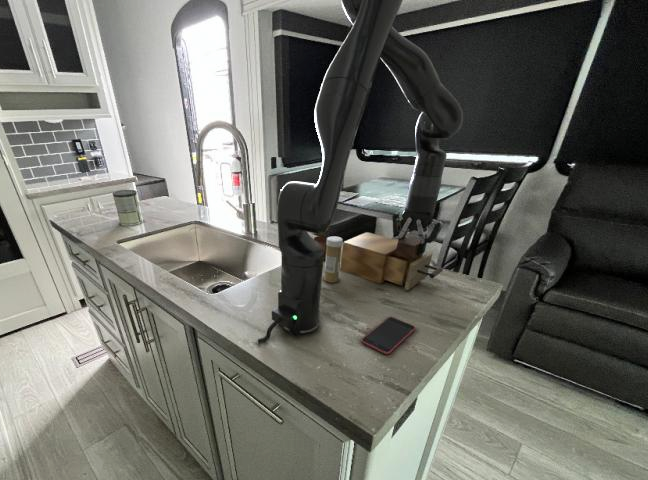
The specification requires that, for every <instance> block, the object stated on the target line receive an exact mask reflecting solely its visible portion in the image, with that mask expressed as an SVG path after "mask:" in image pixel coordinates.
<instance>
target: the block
mask: <svg viewBox="0 0 648 480" xmlns="http://www.w3.org/2000/svg"><path fill="white" fill-rule="evenodd" d="M405 237H406V238H404V239H402V240H400V241H398V243H397V248H396V253H395V255H398V256H401V257H405V258H408V259H413V258H415V257H416V256H418V255H417V251H418V247H419V243H420V236H415V235H411V234H410V235H408V236H405Z"/></svg>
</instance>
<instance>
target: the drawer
mask: <svg viewBox="0 0 648 480" xmlns="http://www.w3.org/2000/svg"><path fill="white" fill-rule="evenodd" d="M395 253H396V251H395V252H393V253H391V254H390V255H388V256H386V261H385V267H384V272H383V277H382V279H385V281H387V282H391V283H393V284H396V285H398V286H403V285H404V289H405V290H407V291H409V290H410V289H412V288H413V287H415V286H416V285H417V284H418V283H420V282H421V281H423V280H425V279H426V278H427V277H429V278H430V279H434V278H435V277H437V276H438V275H439V274H440V273H442V272H443V271H444V268H443V267H441V266H439V267H436V266H434V265H433V266H432V265H430V264H431V263H432V258H433V254H434V253H433V252H431V251H428V252H427V253H423V254H421V255H420V256H416V257H415V258H413V259H408V258H405V257H401V256H398V255H395ZM429 270H433V271H432V272H431V273H430V272H429Z"/></svg>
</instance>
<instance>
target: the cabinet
mask: <svg viewBox="0 0 648 480" xmlns="http://www.w3.org/2000/svg"><path fill="white" fill-rule="evenodd" d="M398 240H399V239H394V238H390V237H387V236H383V235H379V234H375V233H372V232H369V231H365V232H364V233H361V234H359V235H357V236H354V237H352V238H349V239H347V240H344V241H343V243H342V249H341V259H340V268H339V271H343V272H346V273H349V274H351V275H355V276H357V277H359V278H362V279H366V280H368V281H371V282H373V283H377V284H379V285H381V284H382V283H384V282H386V280H385V279H382V277H383V272H384V267H385V261H386V256H388V255H390V254H391V253H393V252H395V251H396V248H397V243H398Z"/></svg>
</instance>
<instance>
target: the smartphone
mask: <svg viewBox="0 0 648 480" xmlns="http://www.w3.org/2000/svg"><path fill="white" fill-rule="evenodd" d="M415 330H416V326H414V325H412V324H410V323H408V322H405V321H402V320H400V319H398V318H396V317H394V316H389V317H387V318H386V319H384V320H383V321H382V322H381V323H379V324H378V325H377V326H376V327H374V328H373V329H372V330H371V331H370V332H368V333H367V334H365V336H363V337H362V338H361V343H362V344H364V345H366V346H367V347H370V348H371V349H374V350H375V351H377V352H380V353H382V354H384V355H390V354H391V353H392V352H394V350H395V349H396V348H397V347H399V346H400V344H402V343H403V342H404V341H405V340H406V339H407V338H408V337H409V336H410V335H411V334H412V333H414V332H415Z"/></svg>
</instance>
